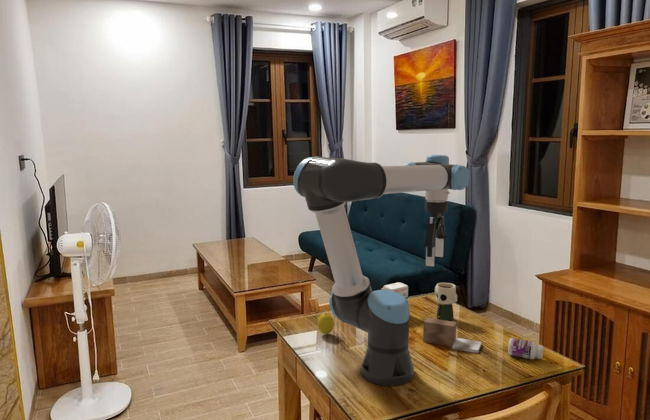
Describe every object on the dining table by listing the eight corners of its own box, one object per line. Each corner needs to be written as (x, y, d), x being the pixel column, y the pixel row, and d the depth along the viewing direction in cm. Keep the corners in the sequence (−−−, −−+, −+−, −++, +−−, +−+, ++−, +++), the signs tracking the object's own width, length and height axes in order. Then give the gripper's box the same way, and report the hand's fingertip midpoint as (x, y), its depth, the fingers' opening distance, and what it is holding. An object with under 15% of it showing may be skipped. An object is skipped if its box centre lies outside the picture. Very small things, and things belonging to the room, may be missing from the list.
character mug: (427, 316, 188) (428, 283, 186) (441, 312, 192) (442, 280, 190) (448, 325, 179) (450, 291, 177) (462, 321, 183) (464, 287, 181)
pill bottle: (509, 334, 155) (543, 340, 151) (511, 341, 159) (543, 347, 155) (507, 351, 153) (541, 357, 148) (508, 357, 157) (541, 363, 152)
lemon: (334, 331, 174) (334, 310, 173) (333, 338, 169) (333, 316, 167) (318, 331, 175) (318, 309, 173) (316, 337, 169) (316, 315, 168)
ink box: (391, 319, 185) (391, 289, 183) (382, 315, 189) (382, 285, 188) (408, 314, 190) (408, 285, 188) (399, 310, 194) (399, 281, 192)
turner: (421, 343, 165) (422, 323, 164) (427, 335, 171) (427, 315, 170) (478, 353, 157) (479, 332, 156) (481, 344, 163) (482, 324, 162)
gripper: (439, 206, 157) (437, 271, 160) (455, 196, 179) (452, 253, 182) (415, 204, 160) (414, 268, 163) (434, 195, 182) (432, 251, 185)
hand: (434, 261), depth 173 cm, fingers open, 13 cm apart
